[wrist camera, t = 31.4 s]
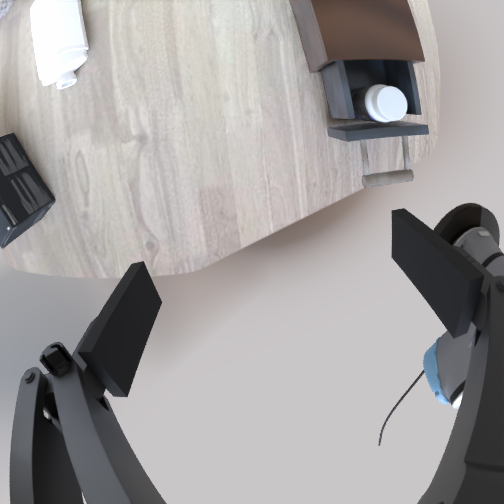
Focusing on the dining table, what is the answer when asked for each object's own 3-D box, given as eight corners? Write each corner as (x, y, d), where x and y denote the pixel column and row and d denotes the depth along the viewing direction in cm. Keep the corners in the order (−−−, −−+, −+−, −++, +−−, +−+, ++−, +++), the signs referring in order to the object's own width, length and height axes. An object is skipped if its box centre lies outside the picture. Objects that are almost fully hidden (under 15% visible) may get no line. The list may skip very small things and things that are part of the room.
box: (0, 156, 34) (-43, 173, 23) (14, 131, 32) (-32, 144, 22) (40, 221, 41) (0, 251, 30) (57, 200, 39) (14, 228, 28)
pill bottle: (351, 122, 33) (378, 126, 25) (344, 89, 31) (369, 83, 23) (382, 118, 32) (413, 122, 25) (375, 86, 30) (406, 82, 23)
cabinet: (390, 68, 30) (425, 61, 22) (309, 72, 32) (327, 60, 23) (365, -13, 24) (392, -36, 15) (284, -13, 25) (293, -44, 16)
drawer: (403, 169, 37) (431, 182, 30) (335, 179, 38) (353, 195, 31) (383, 42, 28) (409, 31, 21) (308, 43, 29) (321, 28, 22)
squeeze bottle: (83, -18, 21) (68, -26, 17) (100, 70, 30) (83, 66, 25) (40, 12, 22) (23, 8, 18) (54, 99, 31) (35, 100, 27)
